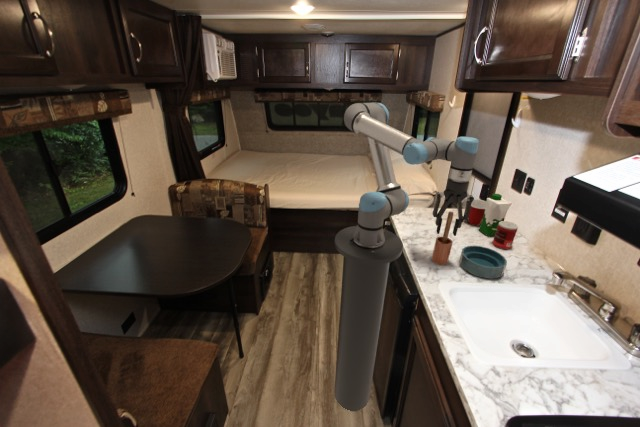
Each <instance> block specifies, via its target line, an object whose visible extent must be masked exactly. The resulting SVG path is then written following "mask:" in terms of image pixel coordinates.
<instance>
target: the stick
mask: <svg viewBox="0 0 640 427" xmlns="http://www.w3.org/2000/svg"><path fill="white" fill-rule="evenodd" d="M453 217H454V212H453V211H449V212H448V213H447V217H446V222H445V226H444V231H443V236H442V237H443V239H442V243H445V244H446V242H447V238H449V233H450V229H451V226H452V222H453Z"/></svg>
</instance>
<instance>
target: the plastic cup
mask: <svg viewBox="0 0 640 427" xmlns="http://www.w3.org/2000/svg"><path fill="white" fill-rule="evenodd" d="M486 204H487V200H483V199H476V198H474V200H473V202H472V203H471V208H470V213H469V218H468V220H467V221H468V222H467V223H468V224H469V225H472V226H480V225H481V223H482V219H483V216H484V213H485V209H486Z"/></svg>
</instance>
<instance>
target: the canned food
mask: <svg viewBox="0 0 640 427" xmlns="http://www.w3.org/2000/svg"><path fill="white" fill-rule="evenodd" d="M518 228H519V226H518V225H517V224H516V223H514V222H511V221H508V220H504V221H501V222H499V224H498V227H497V230H496V233H495V236H493V240H492V244H493V246H494V247H496V248H498V249H501V250H510V249H511V248H512V246H513V243H514V240H515V237H516V234H517V232H518Z"/></svg>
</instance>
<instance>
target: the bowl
mask: <svg viewBox="0 0 640 427" xmlns="http://www.w3.org/2000/svg"><path fill="white" fill-rule="evenodd" d="M458 262H459V265H460V266H461V268H463V269H464V270H465V271H466V272H468V273H470V274H472V275H474V276H477V277H479V278H484V279H485V278H486V279H498V278H501V277H502V276H503V275H504V272H505V270H506V267H507V264H508V261H507V259H506V257H505V256H504V255H502V254H501V253H500V252H498V251H496V250H495V249H492V248H490V247H486V246H483V245H482V246H481V245H468V246H464V247H463V248H462V249H461V253H460V257H459V260H458Z"/></svg>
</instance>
